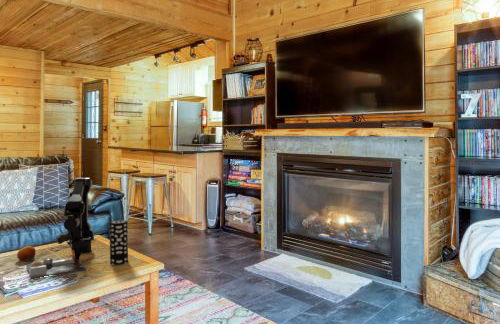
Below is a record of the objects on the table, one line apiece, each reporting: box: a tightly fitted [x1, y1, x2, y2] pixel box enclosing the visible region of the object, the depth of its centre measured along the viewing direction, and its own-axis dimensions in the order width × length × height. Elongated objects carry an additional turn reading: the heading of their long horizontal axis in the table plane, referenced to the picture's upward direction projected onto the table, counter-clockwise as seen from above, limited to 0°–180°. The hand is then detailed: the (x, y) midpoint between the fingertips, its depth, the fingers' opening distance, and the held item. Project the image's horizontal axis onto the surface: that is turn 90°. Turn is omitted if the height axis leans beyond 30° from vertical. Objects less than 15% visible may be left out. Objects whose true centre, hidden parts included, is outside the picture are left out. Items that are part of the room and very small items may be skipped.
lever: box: [32, 250, 81, 267], centre depth 184 cm, size 20×4×6 cm, turn 124°
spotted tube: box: [109, 219, 129, 266], centre depth 191 cm, size 8×8×20 cm
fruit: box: [16, 245, 37, 262], centre depth 195 cm, size 8×8×8 cm
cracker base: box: [26, 257, 87, 280], centre depth 182 cm, size 22×22×4 cm
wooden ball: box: [31, 260, 44, 267], centre depth 173 cm, size 5×5×5 cm
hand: (75, 258), depth 189 cm, fingers open, 6 cm apart
